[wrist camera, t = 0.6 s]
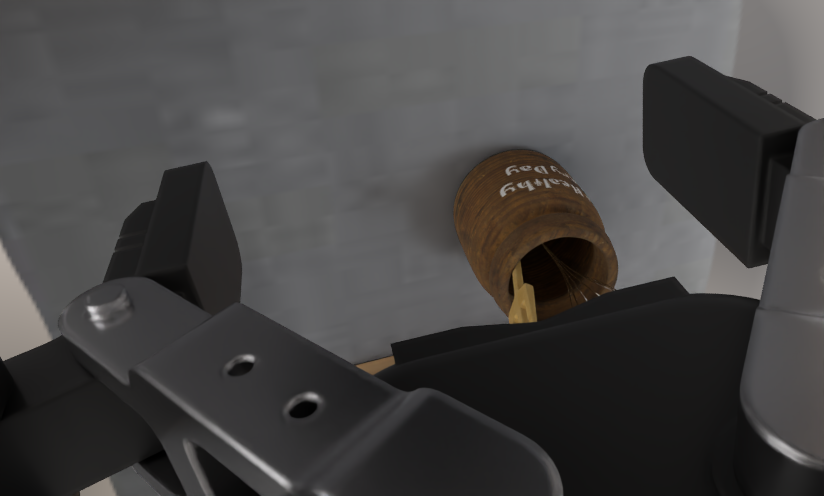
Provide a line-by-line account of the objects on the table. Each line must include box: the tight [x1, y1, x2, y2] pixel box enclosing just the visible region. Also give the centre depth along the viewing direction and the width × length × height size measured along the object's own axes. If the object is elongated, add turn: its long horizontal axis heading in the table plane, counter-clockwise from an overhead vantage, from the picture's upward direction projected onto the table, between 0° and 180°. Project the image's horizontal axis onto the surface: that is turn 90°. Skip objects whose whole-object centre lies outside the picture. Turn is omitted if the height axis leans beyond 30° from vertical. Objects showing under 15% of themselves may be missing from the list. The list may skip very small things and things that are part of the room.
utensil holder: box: [454, 150, 618, 324], centre depth 30 cm, size 6×6×12 cm
